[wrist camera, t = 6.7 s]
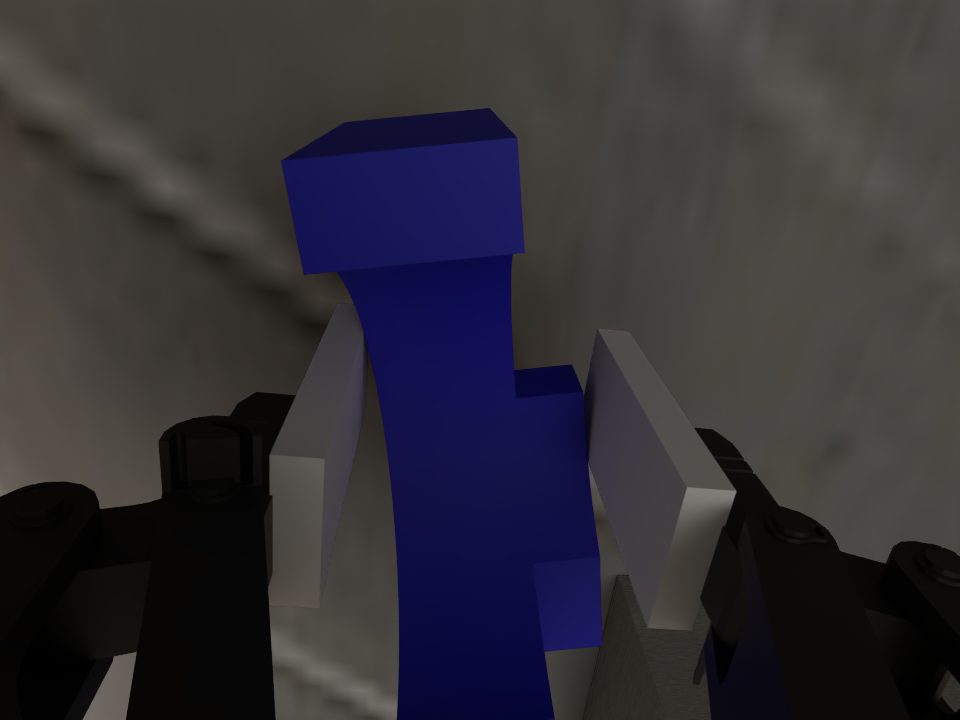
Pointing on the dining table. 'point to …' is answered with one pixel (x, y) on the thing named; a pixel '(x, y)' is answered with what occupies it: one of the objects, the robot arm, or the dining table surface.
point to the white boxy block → (658, 667)
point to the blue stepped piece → (458, 408)
